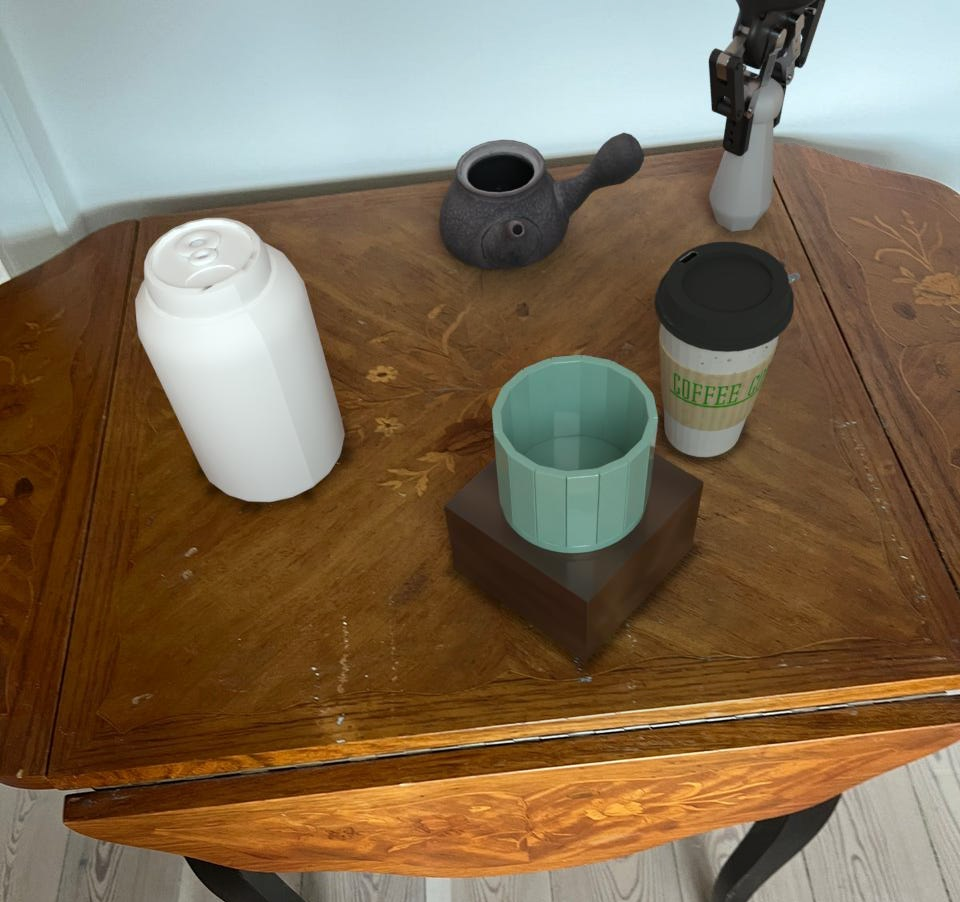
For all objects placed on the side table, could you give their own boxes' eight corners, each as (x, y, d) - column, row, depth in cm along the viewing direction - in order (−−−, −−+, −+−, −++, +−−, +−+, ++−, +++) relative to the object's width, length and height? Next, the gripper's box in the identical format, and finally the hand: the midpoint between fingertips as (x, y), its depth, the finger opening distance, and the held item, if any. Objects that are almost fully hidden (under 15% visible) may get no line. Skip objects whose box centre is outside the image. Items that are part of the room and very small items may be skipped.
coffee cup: (706, 494, 79) (733, 352, 67) (617, 428, 84) (627, 282, 71) (788, 428, 82) (829, 279, 69) (698, 367, 86) (721, 217, 74)
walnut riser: (561, 468, 82) (560, 398, 75) (691, 548, 77) (704, 481, 70) (454, 569, 78) (443, 505, 71) (585, 662, 73) (587, 602, 66)
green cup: (562, 416, 74) (562, 332, 67) (677, 484, 70) (690, 402, 63) (469, 502, 71) (459, 424, 64) (584, 579, 67) (586, 504, 60)
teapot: (453, 311, 92) (442, 217, 84) (434, 207, 100) (421, 111, 92) (654, 280, 93) (663, 183, 84) (619, 178, 101) (624, 80, 92)
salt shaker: (704, 236, 95) (722, 104, 84) (707, 197, 98) (725, 65, 87) (767, 238, 94) (794, 106, 83) (769, 199, 97) (795, 66, 86)
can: (187, 423, 88) (94, 225, 70) (322, 377, 89) (264, 174, 72) (221, 527, 81) (129, 338, 64) (366, 475, 83) (314, 278, 66)
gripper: (776, -22, 71) (740, 194, 85) (883, -105, 75) (831, 113, 90) (688, -51, 73) (668, 163, 88) (797, -130, 78) (760, 85, 93)
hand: (750, 136), depth 89 cm, fingers closed on salt shaker, 4 cm apart
